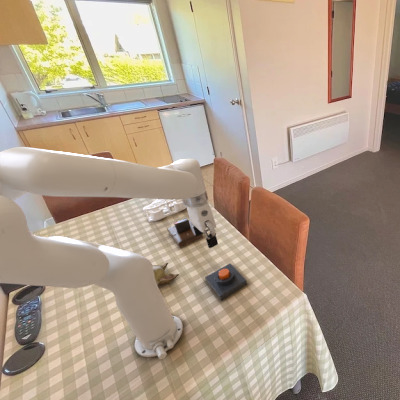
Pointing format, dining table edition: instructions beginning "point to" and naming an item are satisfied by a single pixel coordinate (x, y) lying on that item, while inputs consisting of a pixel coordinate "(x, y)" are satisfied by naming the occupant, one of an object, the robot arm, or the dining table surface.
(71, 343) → the dining table surface
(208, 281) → the button block
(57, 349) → the dining table surface
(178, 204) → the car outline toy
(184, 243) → the panel
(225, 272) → the button
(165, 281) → the ceramic sculpture
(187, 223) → the handle
